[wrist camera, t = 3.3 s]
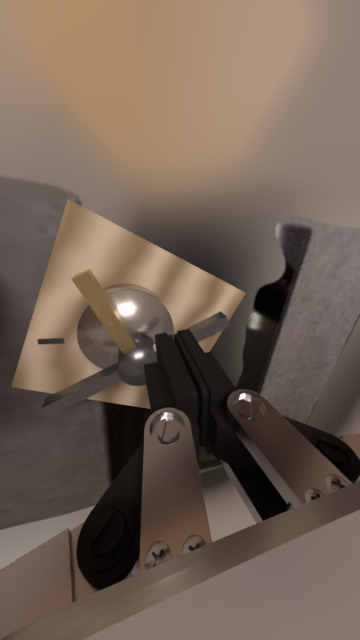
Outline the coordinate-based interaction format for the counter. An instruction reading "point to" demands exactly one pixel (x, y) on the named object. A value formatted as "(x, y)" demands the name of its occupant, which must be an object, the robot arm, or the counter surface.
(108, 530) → the robot arm
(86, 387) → the capstan
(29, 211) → the counter surface
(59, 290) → the stand plate
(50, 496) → the counter surface
